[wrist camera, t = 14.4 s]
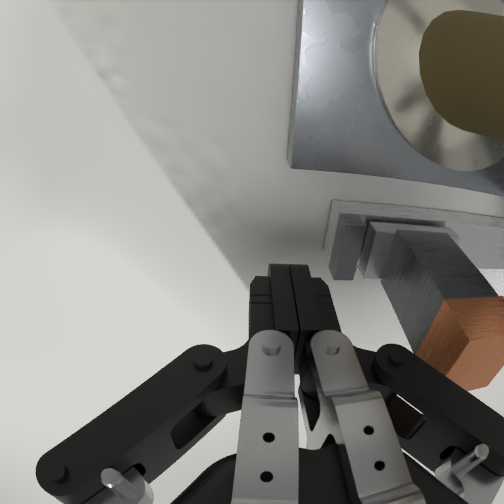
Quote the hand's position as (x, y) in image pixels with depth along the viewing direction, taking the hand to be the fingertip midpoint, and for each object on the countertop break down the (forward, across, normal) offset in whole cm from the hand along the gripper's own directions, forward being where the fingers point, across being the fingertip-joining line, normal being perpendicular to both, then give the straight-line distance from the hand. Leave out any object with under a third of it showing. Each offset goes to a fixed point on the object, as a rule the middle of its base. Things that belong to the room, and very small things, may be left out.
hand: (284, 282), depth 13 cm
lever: (+3, -7, 0) cm, 7 cm away
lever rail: (+5, -10, 0) cm, 11 cm away
